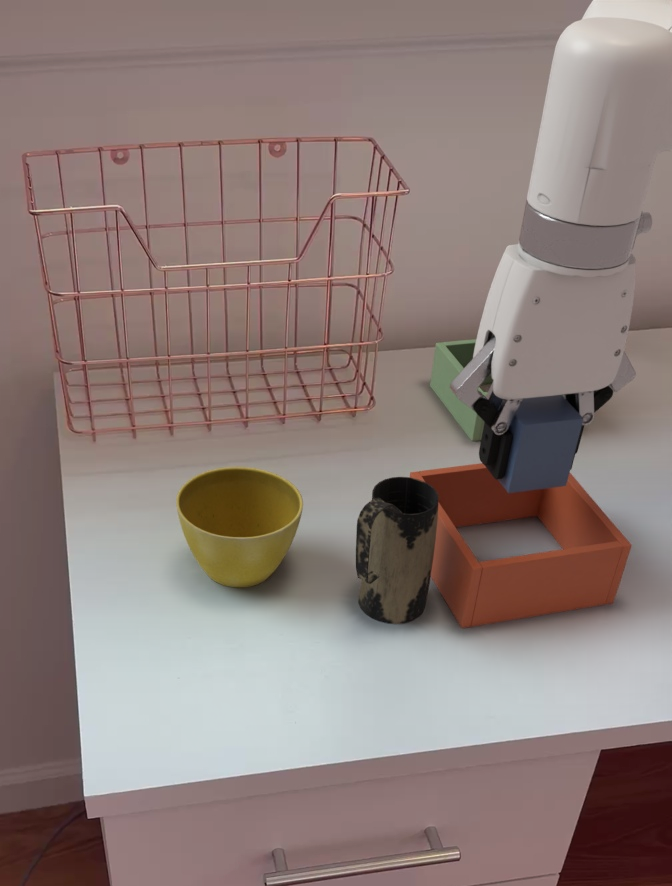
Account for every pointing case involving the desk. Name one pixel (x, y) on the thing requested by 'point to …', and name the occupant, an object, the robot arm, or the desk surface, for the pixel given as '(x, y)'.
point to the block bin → (528, 576)
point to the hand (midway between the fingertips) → (525, 463)
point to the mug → (396, 549)
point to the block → (542, 444)
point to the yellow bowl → (239, 522)
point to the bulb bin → (445, 370)
